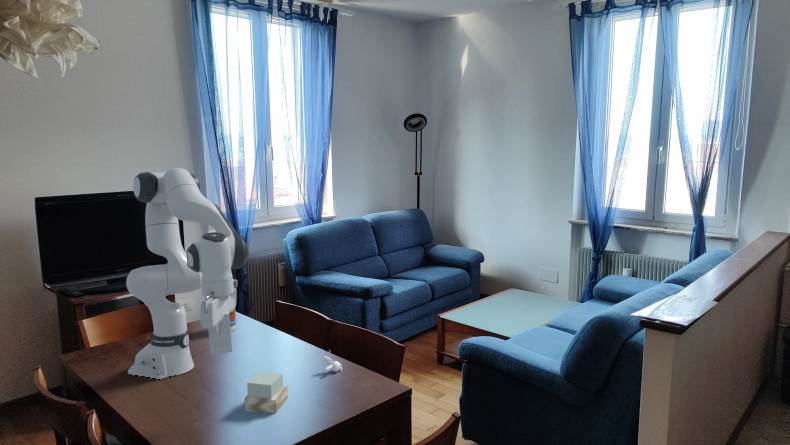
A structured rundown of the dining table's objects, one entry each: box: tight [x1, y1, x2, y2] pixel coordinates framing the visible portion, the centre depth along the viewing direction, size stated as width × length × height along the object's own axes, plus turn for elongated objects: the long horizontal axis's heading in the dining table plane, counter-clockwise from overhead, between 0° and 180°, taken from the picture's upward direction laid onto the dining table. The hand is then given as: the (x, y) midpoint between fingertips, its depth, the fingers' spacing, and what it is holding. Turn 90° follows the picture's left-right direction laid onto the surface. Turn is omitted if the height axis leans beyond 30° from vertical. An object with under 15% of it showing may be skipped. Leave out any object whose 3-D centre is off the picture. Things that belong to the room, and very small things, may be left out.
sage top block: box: [246, 371, 284, 399], centre depth 169 cm, size 8×8×4 cm
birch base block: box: [244, 384, 289, 414], centre depth 170 cm, size 10×10×4 cm
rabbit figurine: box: [322, 355, 343, 373], centre depth 193 cm, size 6×4×8 cm
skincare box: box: [207, 312, 233, 356], centre depth 162 cm, size 6×4×12 cm
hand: (220, 332), depth 163 cm, fingers closed on skincare box, 6 cm apart
